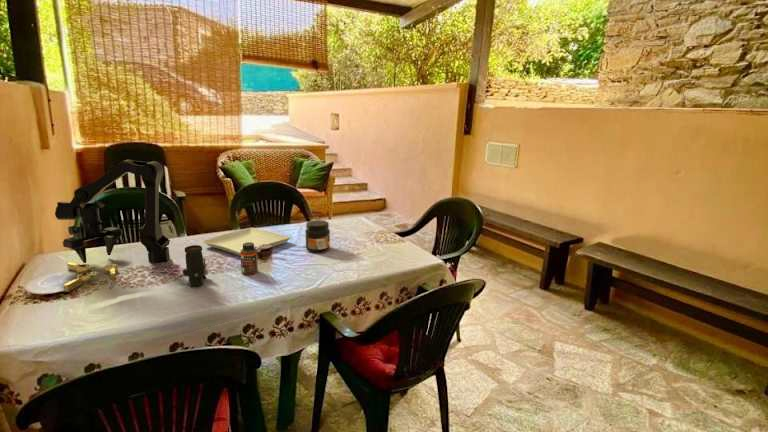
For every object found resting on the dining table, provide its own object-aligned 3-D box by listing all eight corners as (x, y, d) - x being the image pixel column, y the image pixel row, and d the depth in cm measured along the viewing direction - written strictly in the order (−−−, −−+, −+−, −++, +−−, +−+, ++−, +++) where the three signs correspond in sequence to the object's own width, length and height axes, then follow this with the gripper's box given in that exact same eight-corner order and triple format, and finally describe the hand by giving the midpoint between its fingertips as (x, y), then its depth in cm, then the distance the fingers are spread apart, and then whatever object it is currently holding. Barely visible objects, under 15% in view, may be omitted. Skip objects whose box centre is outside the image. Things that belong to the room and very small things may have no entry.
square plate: (292, 244, 194) (292, 236, 193) (243, 262, 172) (243, 252, 171) (251, 233, 208) (251, 225, 207) (201, 248, 186) (201, 240, 185)
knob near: (105, 271, 155) (103, 264, 154) (117, 269, 157) (116, 262, 156) (107, 281, 147) (105, 274, 146) (120, 278, 149) (119, 271, 149)
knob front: (93, 271, 154) (92, 264, 154) (81, 275, 151) (80, 268, 150) (75, 266, 158) (74, 260, 158) (64, 270, 155) (63, 263, 154)
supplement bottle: (243, 276, 157) (241, 247, 154) (240, 270, 162) (238, 242, 159) (259, 273, 160) (258, 245, 157) (256, 268, 165) (254, 240, 162)
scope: (204, 240, 152) (207, 249, 143) (208, 277, 156) (211, 287, 147) (179, 243, 148) (180, 252, 140) (183, 280, 152) (184, 291, 143)
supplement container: (323, 254, 181) (323, 227, 177) (301, 251, 184) (300, 224, 181) (334, 247, 190) (333, 221, 187) (312, 244, 193) (312, 218, 190)
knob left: (83, 279, 148) (82, 272, 147) (94, 279, 148) (93, 272, 147) (60, 291, 138) (59, 284, 138) (72, 292, 138) (70, 284, 138)
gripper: (101, 211, 171) (107, 248, 175) (50, 222, 154) (57, 263, 158) (120, 214, 166) (125, 252, 170) (69, 226, 150) (76, 268, 154)
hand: (97, 258), depth 163 cm, fingers open, 9 cm apart
